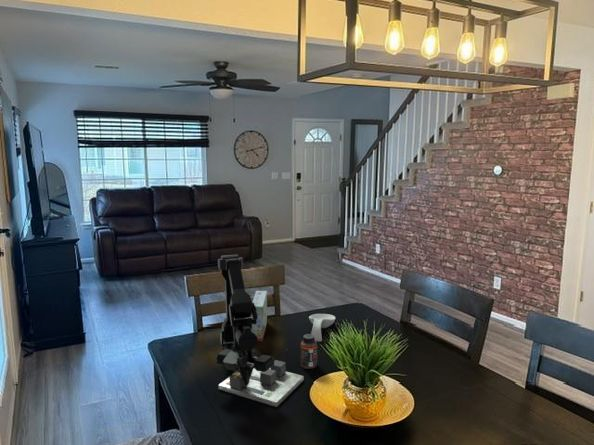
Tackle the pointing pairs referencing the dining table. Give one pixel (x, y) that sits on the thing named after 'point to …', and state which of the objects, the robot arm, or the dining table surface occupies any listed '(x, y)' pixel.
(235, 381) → the grey cube
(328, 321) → the spoon rest
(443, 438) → the dining table surface
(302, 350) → the supplement bottle
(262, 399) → the panel
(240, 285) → the robot arm
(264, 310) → the snack box
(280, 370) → the block
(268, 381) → the block
